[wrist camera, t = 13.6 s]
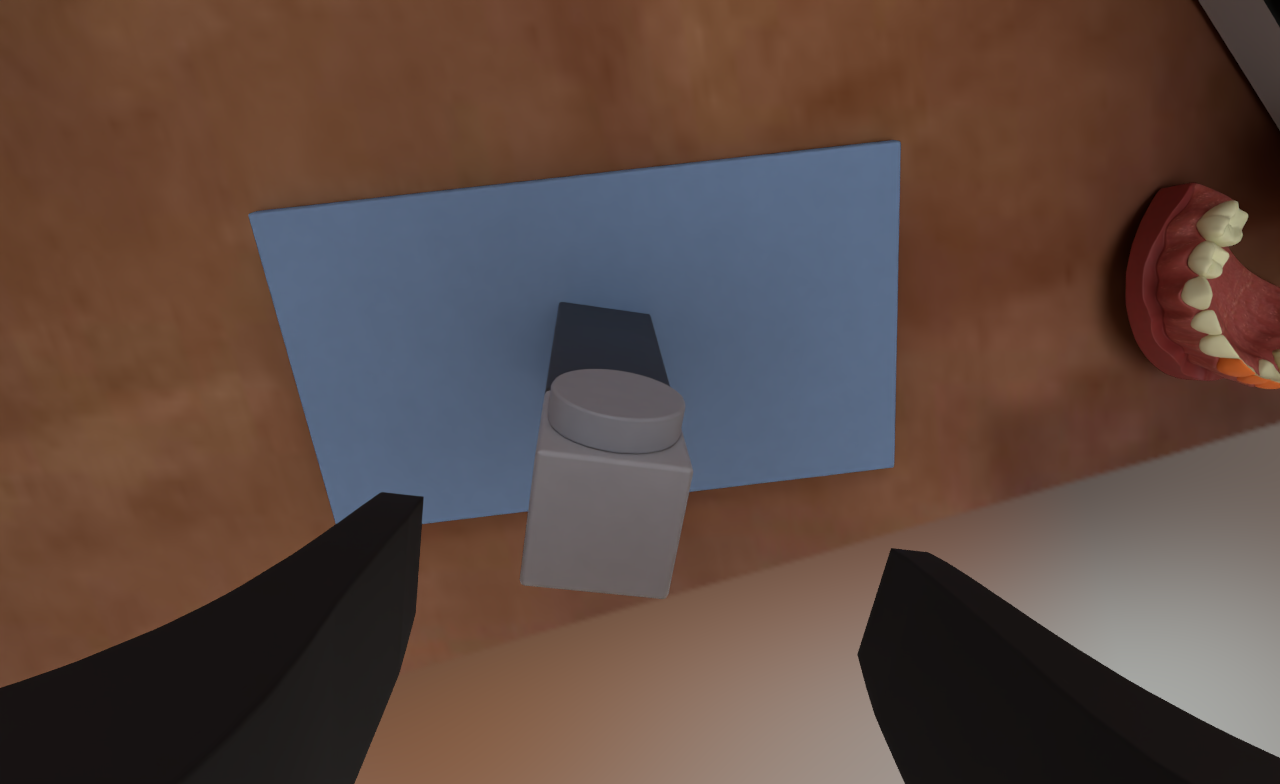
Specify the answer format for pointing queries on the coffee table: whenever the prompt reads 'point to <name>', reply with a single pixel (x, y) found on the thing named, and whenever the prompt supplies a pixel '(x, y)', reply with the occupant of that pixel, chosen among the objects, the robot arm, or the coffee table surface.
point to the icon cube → (1252, 43)
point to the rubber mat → (602, 277)
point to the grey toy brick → (607, 460)
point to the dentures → (1201, 292)
